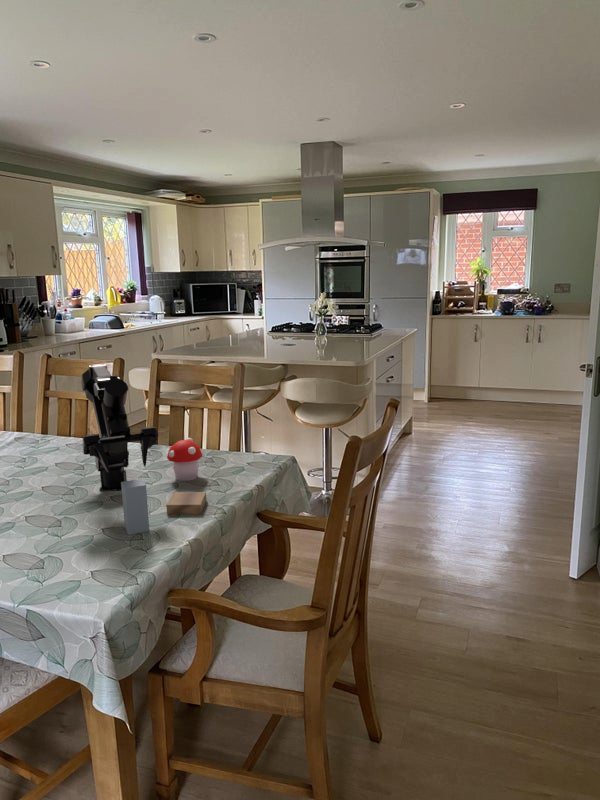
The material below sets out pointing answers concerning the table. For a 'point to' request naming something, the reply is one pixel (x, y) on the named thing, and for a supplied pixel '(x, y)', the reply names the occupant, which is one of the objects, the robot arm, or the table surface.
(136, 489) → the pillar
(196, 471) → the mushroom
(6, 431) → the table surface
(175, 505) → the pedestal
